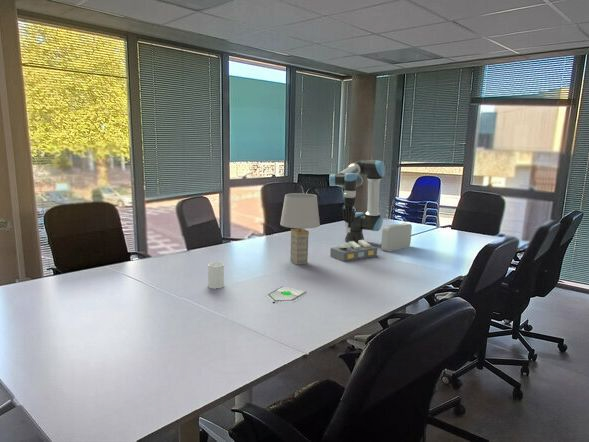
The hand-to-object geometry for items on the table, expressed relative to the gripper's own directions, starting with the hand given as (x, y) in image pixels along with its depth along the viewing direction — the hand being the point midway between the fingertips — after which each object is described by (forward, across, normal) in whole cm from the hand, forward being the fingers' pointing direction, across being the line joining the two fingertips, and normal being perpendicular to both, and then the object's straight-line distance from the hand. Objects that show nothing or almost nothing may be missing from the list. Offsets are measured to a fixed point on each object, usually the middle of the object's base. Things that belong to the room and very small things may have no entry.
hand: (347, 232), depth 273 cm
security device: (+19, +39, -73) cm, 85 cm away
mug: (+19, +8, -95) cm, 97 cm away
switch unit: (+18, -3, +9) cm, 21 cm away
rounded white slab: (+19, -5, +52) cm, 55 cm away
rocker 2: (+10, -3, +9) cm, 14 cm away
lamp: (+19, -8, -33) cm, 39 cm away
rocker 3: (+10, -3, +18) cm, 21 cm away
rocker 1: (+10, -3, 0) cm, 11 cm away
